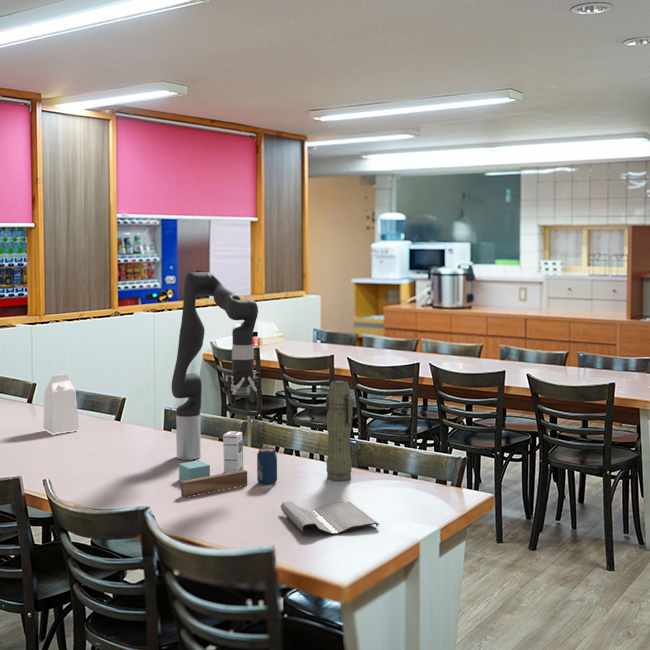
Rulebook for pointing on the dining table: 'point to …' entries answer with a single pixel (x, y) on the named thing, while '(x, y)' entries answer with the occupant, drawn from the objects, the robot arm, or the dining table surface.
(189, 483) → the board
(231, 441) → the syrup box
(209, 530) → the dining table surface
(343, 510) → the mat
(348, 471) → the thermos
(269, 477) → the soda can
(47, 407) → the milk
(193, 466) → the block
